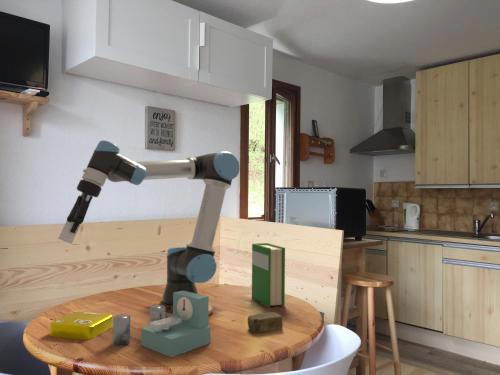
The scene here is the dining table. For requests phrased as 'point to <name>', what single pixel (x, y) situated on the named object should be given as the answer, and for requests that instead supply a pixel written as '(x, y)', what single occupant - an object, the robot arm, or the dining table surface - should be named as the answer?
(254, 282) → the hardback book
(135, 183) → the robot arm
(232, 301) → the dining table surface
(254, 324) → the stone block
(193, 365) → the dining table surface
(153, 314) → the cylinder
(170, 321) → the platform
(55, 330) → the element tile
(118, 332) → the cylinder
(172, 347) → the scale body
